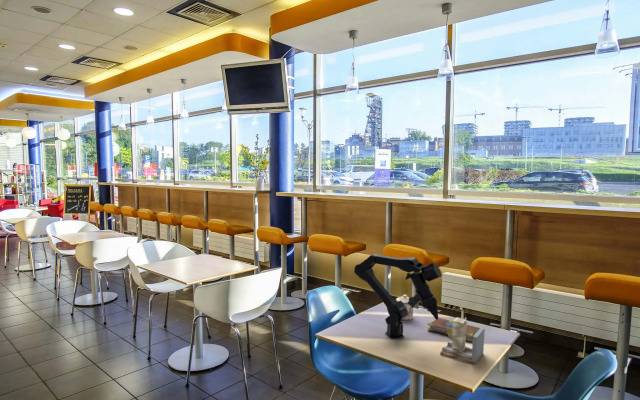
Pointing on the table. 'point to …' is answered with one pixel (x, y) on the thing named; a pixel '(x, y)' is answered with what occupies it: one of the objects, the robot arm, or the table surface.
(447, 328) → the book
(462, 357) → the rail board
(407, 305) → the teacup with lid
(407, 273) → the robot arm
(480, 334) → the backstop wall
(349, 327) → the table surface
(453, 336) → the ash block
